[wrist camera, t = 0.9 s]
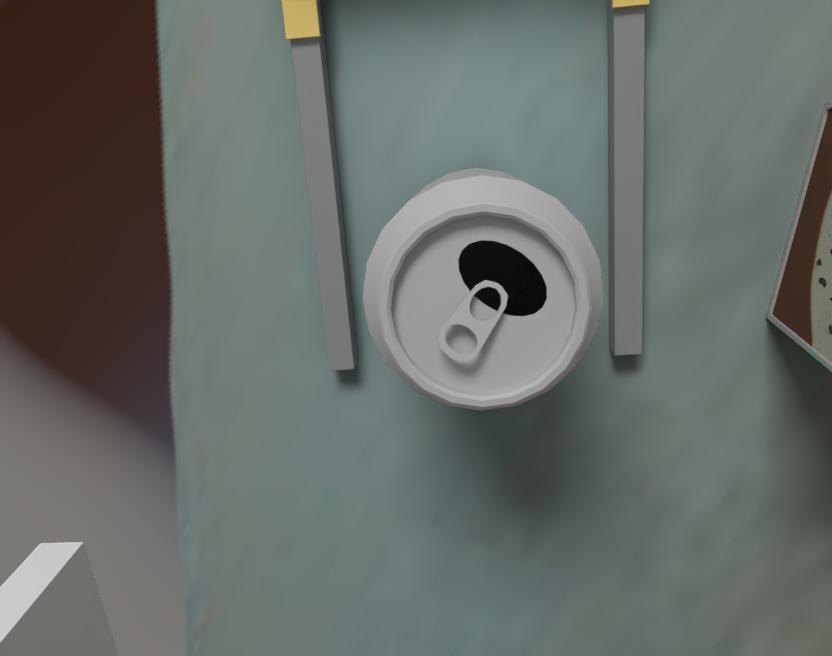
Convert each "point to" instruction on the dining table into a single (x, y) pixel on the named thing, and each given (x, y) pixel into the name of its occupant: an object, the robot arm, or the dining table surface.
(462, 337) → the can
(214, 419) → the dining table surface
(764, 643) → the dining table surface
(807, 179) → the food container
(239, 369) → the dining table surface
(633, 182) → the guide channel
